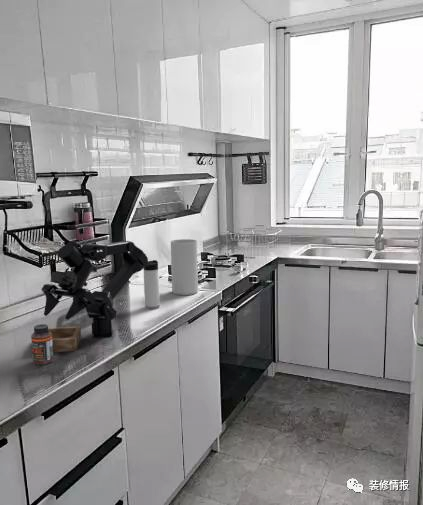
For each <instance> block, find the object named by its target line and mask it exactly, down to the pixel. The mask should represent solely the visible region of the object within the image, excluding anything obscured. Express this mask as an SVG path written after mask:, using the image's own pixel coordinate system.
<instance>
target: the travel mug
mask: <svg viewBox="0 0 423 505" xmlns="http://www.w3.org/2000/svg"><path fill="white" fill-rule="evenodd" d="M142 271H143V287H144V288H143V289H144V290H143V291H144V293H143V294H144V308H145V309H146V310H157V309H159V308H160V306H161V305H160V280H159V279H160V278H159V262H158V260H157V259H153V260H148V263H147V265H146V267H145V268H143V269H142Z"/></svg>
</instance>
